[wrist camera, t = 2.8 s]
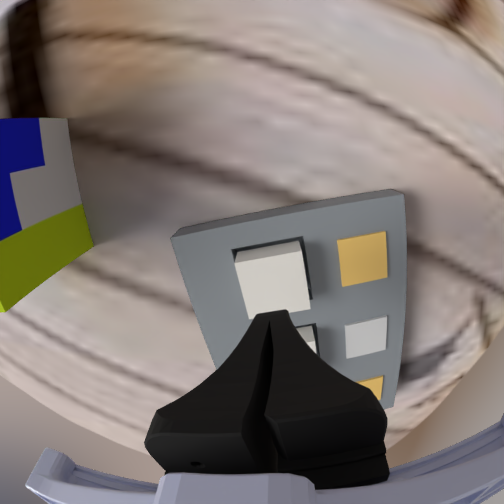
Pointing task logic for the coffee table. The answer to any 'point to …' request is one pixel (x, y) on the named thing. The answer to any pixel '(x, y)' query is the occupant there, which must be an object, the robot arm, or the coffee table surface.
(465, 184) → the coffee table surface
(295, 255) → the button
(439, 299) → the coffee table surface
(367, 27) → the coffee table surface
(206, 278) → the button board
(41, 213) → the puzzle toy
